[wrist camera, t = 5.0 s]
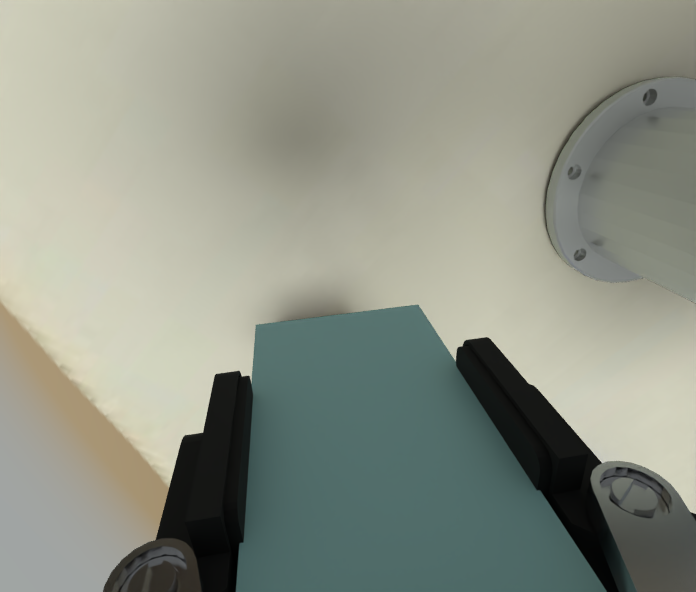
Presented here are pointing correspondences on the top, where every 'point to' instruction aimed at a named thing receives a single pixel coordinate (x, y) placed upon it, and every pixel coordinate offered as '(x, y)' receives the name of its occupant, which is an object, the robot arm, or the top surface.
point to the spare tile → (387, 470)
